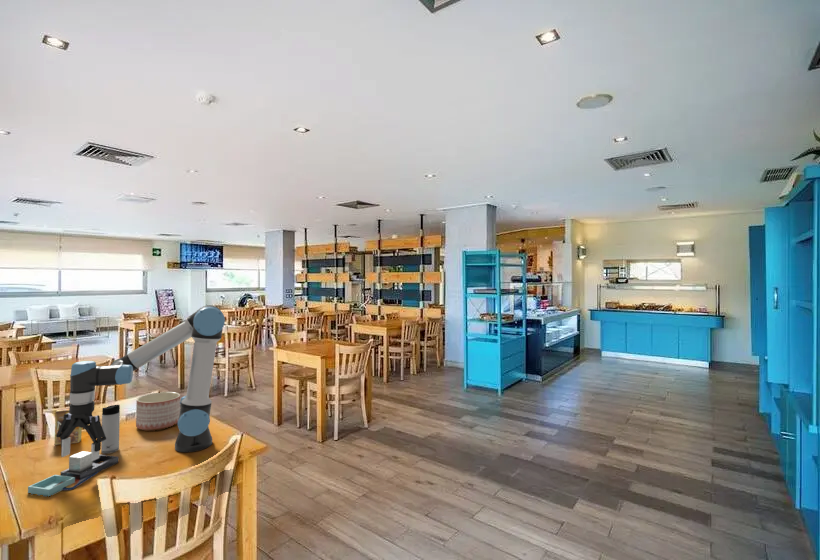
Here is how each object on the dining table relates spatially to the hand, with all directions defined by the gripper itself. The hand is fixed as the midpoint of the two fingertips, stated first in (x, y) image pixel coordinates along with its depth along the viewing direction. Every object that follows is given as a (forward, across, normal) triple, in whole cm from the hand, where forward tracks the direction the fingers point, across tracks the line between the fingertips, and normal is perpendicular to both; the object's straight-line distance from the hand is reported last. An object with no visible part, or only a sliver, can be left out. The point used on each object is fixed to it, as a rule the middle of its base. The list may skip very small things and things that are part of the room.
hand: (80, 457), depth 156 cm
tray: (+7, 0, +10) cm, 12 cm away
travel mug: (+7, +8, -21) cm, 23 cm away
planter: (+7, +13, -52) cm, 54 cm away
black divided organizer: (+7, 0, -4) cm, 8 cm away
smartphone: (+7, -2, +3) cm, 8 cm away
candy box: (+7, +35, -24) cm, 43 cm away
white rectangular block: (+7, 0, 0) cm, 7 cm away
